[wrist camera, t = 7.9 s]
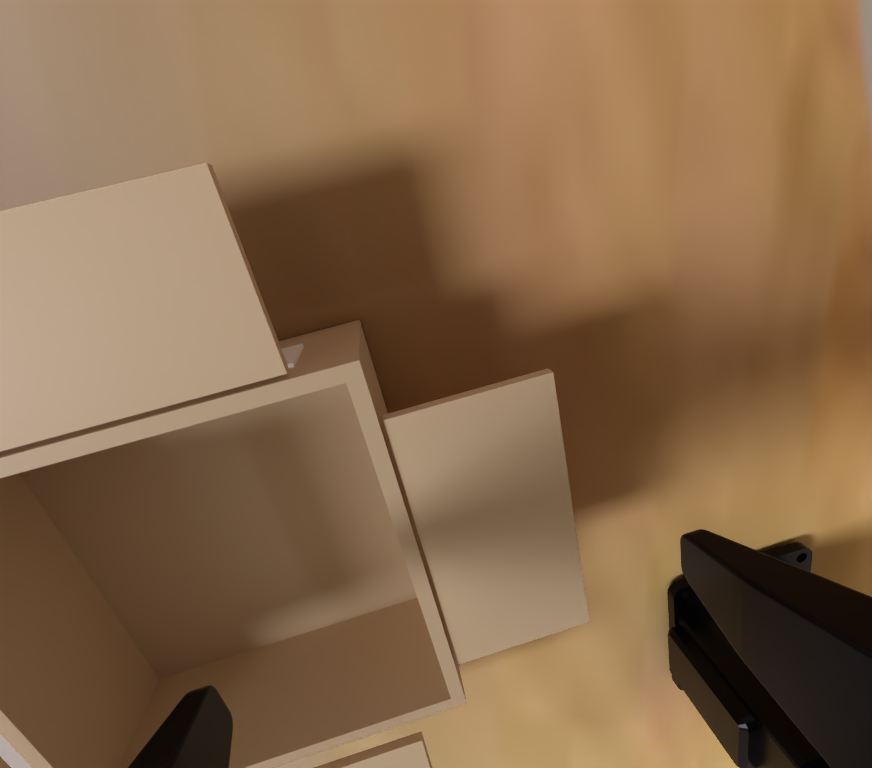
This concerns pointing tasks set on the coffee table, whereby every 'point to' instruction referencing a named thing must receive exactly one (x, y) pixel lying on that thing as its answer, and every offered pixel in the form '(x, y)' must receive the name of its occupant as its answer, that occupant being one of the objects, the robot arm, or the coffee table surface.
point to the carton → (242, 499)
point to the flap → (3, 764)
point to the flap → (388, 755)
